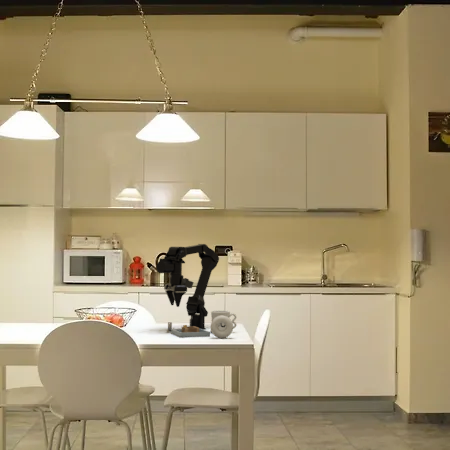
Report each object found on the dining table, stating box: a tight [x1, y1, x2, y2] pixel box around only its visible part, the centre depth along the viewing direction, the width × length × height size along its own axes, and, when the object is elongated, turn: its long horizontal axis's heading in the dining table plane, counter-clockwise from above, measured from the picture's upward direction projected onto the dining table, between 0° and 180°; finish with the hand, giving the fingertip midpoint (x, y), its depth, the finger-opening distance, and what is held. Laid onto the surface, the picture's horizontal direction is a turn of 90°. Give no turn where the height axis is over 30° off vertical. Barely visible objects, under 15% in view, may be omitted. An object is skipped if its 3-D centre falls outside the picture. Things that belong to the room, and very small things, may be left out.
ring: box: [181, 324, 199, 333], centre depth 303 cm, size 6×6×4 cm
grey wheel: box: [210, 315, 234, 339], centre depth 294 cm, size 10×4×10 cm, turn 87°
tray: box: [170, 328, 211, 338], centre depth 303 cm, size 14×14×2 cm
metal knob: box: [166, 321, 173, 333], centre depth 313 cm, size 3×3×4 cm
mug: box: [210, 310, 237, 333], centre depth 314 cm, size 12×9×10 cm
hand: (175, 305), depth 316 cm, fingers open, 9 cm apart
